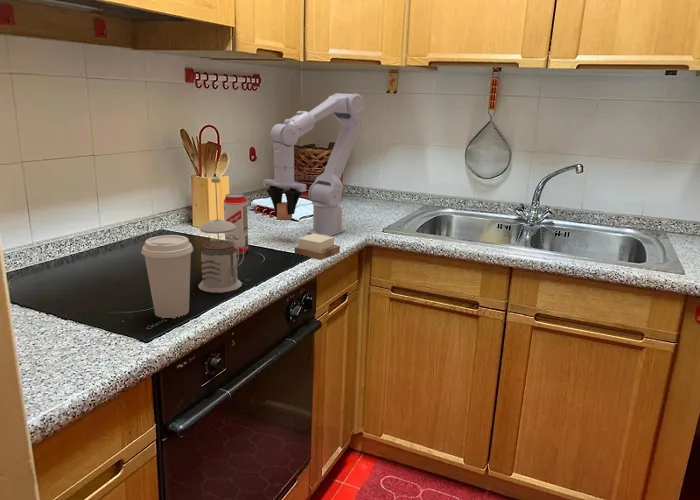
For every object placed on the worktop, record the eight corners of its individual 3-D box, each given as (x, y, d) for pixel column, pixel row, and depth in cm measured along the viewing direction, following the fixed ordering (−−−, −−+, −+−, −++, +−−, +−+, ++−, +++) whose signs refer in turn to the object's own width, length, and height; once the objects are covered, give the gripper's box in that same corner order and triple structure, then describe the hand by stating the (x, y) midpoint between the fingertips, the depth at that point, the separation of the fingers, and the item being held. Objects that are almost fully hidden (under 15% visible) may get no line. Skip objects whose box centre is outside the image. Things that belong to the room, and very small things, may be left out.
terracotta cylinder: (283, 216, 161) (283, 201, 160) (295, 218, 159) (295, 203, 158) (274, 218, 158) (273, 203, 156) (285, 221, 156) (285, 205, 154)
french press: (219, 275, 130) (215, 171, 123) (256, 284, 124) (254, 177, 117) (188, 286, 122) (182, 177, 114) (227, 297, 116) (222, 182, 109)
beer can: (243, 256, 145) (241, 198, 140) (221, 254, 146) (219, 196, 141) (252, 250, 150) (250, 193, 146) (231, 248, 152) (229, 192, 147)
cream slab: (313, 241, 154) (313, 233, 153) (333, 245, 150) (334, 237, 149) (298, 247, 148) (298, 238, 147) (319, 251, 144) (319, 242, 144)
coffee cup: (136, 316, 105) (129, 242, 101) (170, 300, 114) (165, 231, 109) (174, 325, 102) (169, 250, 97) (206, 308, 110) (203, 237, 106)
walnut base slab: (313, 248, 156) (314, 240, 155) (339, 254, 151) (339, 245, 150) (294, 256, 148) (294, 247, 148) (320, 262, 144) (321, 253, 143)
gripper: (255, 165, 155) (256, 211, 158) (295, 170, 147) (295, 218, 151) (271, 163, 160) (272, 207, 164) (310, 168, 153) (310, 214, 157)
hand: (284, 213), depth 158 cm, fingers closed on terracotta cylinder, 4 cm apart
